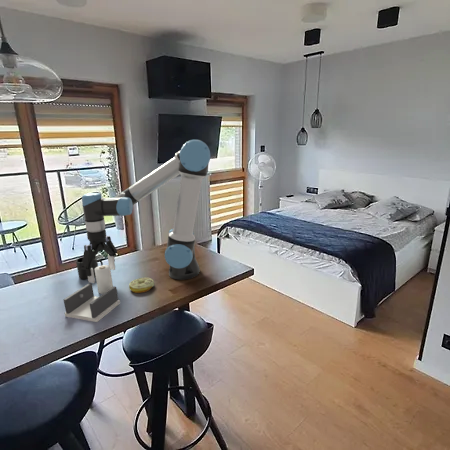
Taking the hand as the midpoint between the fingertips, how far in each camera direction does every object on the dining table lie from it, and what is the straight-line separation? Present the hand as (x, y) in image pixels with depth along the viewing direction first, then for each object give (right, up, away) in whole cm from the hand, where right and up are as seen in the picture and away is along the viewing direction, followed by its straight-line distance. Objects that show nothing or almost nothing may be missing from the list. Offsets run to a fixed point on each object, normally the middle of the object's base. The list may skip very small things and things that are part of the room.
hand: (102, 275), depth 139 cm
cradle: (+2, -11, -13) cm, 18 cm away
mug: (-13, -3, +19) cm, 23 cm away
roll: (+1, -7, +2) cm, 7 cm away
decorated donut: (+17, -7, +3) cm, 18 cm away
